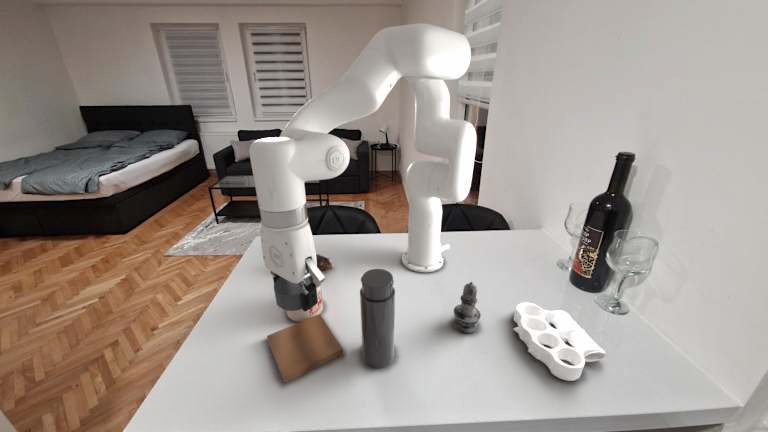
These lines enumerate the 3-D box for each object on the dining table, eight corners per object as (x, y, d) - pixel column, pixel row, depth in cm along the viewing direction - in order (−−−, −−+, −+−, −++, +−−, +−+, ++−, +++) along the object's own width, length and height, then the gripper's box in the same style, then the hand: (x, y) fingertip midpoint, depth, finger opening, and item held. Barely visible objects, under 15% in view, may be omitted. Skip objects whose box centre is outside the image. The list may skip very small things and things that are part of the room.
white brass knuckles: (616, 375, 57) (543, 384, 56) (555, 310, 74) (498, 315, 72) (621, 363, 56) (547, 371, 54) (558, 299, 72) (500, 304, 71)
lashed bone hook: (335, 259, 95) (277, 260, 94) (334, 246, 93) (275, 246, 93) (331, 276, 87) (267, 276, 86) (330, 262, 85) (265, 262, 84)
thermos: (382, 337, 66) (382, 263, 58) (400, 358, 61) (402, 280, 53) (356, 351, 63) (352, 274, 55) (373, 373, 58) (371, 293, 50)
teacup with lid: (317, 325, 69) (312, 283, 64) (279, 322, 70) (271, 280, 65) (331, 291, 80) (328, 254, 75) (298, 289, 81) (293, 252, 76)
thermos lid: (292, 316, 53) (290, 301, 52) (268, 300, 57) (265, 285, 56) (323, 295, 59) (322, 280, 57) (299, 281, 63) (297, 267, 61)
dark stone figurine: (479, 319, 71) (486, 276, 66) (477, 337, 66) (485, 293, 61) (453, 313, 73) (458, 271, 68) (450, 330, 68) (455, 287, 63)
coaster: (320, 318, 71) (319, 313, 70) (343, 354, 62) (342, 348, 61) (267, 340, 65) (266, 335, 64) (284, 383, 56) (283, 378, 55)
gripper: (235, 208, 53) (253, 291, 60) (300, 236, 43) (311, 330, 51) (272, 196, 58) (284, 273, 66) (337, 219, 49) (343, 306, 56)
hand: (296, 297), depth 58 cm, fingers closed on thermos lid, 7 cm apart
